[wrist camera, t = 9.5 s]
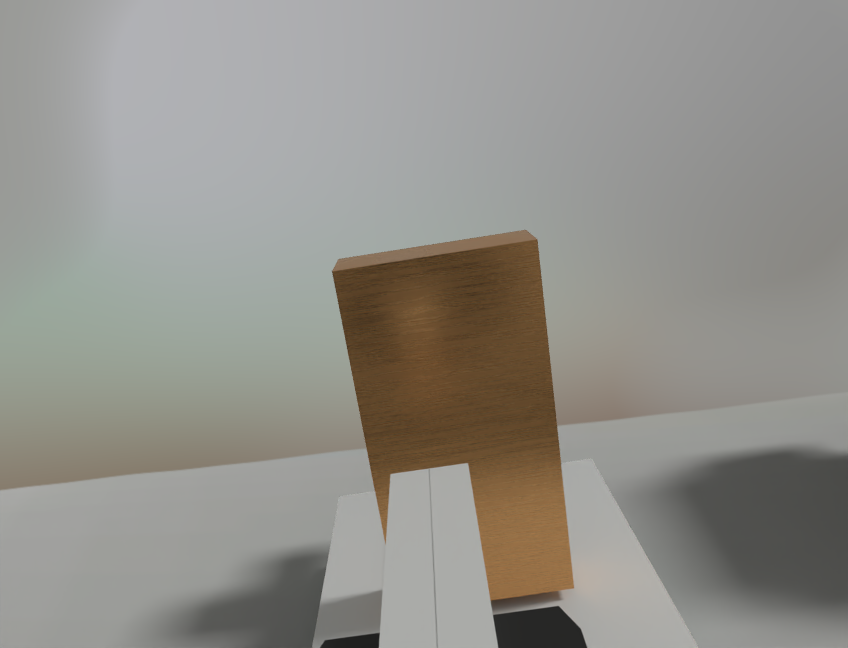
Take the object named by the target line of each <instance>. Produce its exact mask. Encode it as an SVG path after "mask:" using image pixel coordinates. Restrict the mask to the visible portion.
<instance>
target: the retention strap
mask: <svg viewBox="0 0 848 648" xmlns="http://www.w3.org/2000/svg"><path fill="white" fill-rule="evenodd" d="M332 273H333V278H334V283H335V288H336V293H337V298H338V304H339V309H340V314H341V319H342V324H343V329H344V334H345V340H346V344H347V349H348V355H349V360H350V365H351V370H352V376H353V380H354V386H355V391H356V396H357V401H358V406H359V411H360V416H361V421H362V427H363V432H364V437H365V442H366V447H367V452H368V458H369V463H370V468H371V473H372V478H373V483H374V488H375V493H376V499H377V504H378V509H379V514H380V519H381V524H382V529H383V535H384V540H385V545H386V533H387V518H388V503H389V488H390V474H394V473H401V472H408V471H415V470H422V469H429V468H436V467H443V466H450V465H457V464H464V463H468V466H469V472H470V479H471V485H472V491H473V497H474V503H475V509H476V515H477V521H478V527H479V533H480V540H481V546H482V552H483V558H484V564H485V570H486V576H487V582H488V588H489V595H490V601H491V600H498V599H505V598H512V597H519V596H526V595H532V594H539V593H546V592H553V591H560V590H566V589H573V588H574V582H573V572H572V563H571V553H570V544H569V535H568V525H567V516H566V506H565V497H564V487H563V478H562V468H561V459H560V449H559V440H558V430H557V422H556V411H555V402H554V393H553V385H552V384H553V383H552V374H551V364H550V355H549V347H548V346H549V345H548V336H547V326H546V317H545V308H544V298H543V288H542V279H541V270H540V260H539V251H538V241H537V239H536V238H535V237H534V236H533V235H531V234H530V233H529V232H528V231H527V230H522V231H515V232H510V233H503V234H496V235H490V236H483V237H477V238H470V239H464V240H458V241H452V242H445V243H439V244H432V245H426V246H419V247H413V248H407V249H400V250H394V251H388V252H381V253H375V254H368V255H362V256H356V257H349V258H342V259H339V260H338V261H337V263H336V265H335V267H334V269H333V271H332Z"/></svg>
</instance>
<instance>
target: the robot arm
mask: <svg viewBox="0 0 848 648" xmlns="http://www.w3.org/2000/svg"><path fill="white" fill-rule="evenodd" d="M320 648H587V645H586V642H585V639H584V636H583V633H582V630H581V628H580V627H579V626H578V625H577V624H576V623H575V622H574V621H573V620H572V619H571V618H570V617H569V616H568V615H567V614H566V613H565V612H564V611H563V610H562V609H561V608H560V607H559V606H554V607H546V608H539V609H532V610H524V611H517V612H510V613H502V614H495V615H493V613H492V607H491V601H490V595H489V588H488V582H487V576H486V570H485V564H484V558H483V552H482V546H481V540H480V533H479V527H478V521H477V515H476V509H475V503H474V497H473V491H472V485H471V479H470V472H469V466H468V463H464V464H457V465H450V466H443V467H436V468H429V469H422V470H415V471H408V472H401V473H394V474H390V488H389V503H388V518H387V533H386V548H385V563H384V578H383V593H382V608H381V623H380V633H373V634H366V635H359V636H352V637H344V638H337V639H330V640H325V641H324V642H323V644H322V645H321V647H320Z"/></svg>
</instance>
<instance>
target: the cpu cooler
mask: <svg viewBox="0 0 848 648" xmlns="http://www.w3.org/2000/svg"><path fill="white" fill-rule="evenodd" d="M561 468H562V478H563V487H564V497H565V506H566V516H567V525H568V535H569V544H570V553H571V563H572V572H573V582H574V588H573V589H566V590H560V591H553V592H546V593H539V594H532V595H526V596H519V597H512V598H505V599H498V600H491V607H492V613H493V615H495V614H502V613H510V612H517V611H524V610H532V609H539V608H546V607H554V606H559V607H560V608H561V609H562V610H563V611H564V612H565V613H566V614H567V615H568V616H569V617H570V618H571V619H572V620H573V621H574V622H575V623H576V624H577V625H578V626H579V627H580V628H581V630H582V633H583V636H584V639H585V642H586V645H587V648H699V647H698V645H697V644H696V642H695V640H694V638H693V637H692V635H691V633H690V631H689V630H688V628H687V626H686V624H685V622H684V621H683V619H682V617H681V615H680V614H679V612H678V610H677V608H676V607H675V605H674V603H673V601H672V600H671V598H670V596H669V594H668V592H667V591H666V589H665V587H664V585H663V584H662V582H661V580H660V578H659V577H658V575H657V573H656V571H655V570H654V568H653V566H652V564H651V562H650V561H649V559H648V557H647V555H646V554H645V552H644V550H643V548H642V547H641V545H640V543H639V541H638V540H637V538H636V536H635V534H634V532H633V531H632V529H631V527H630V525H629V524H628V522H627V520H626V518H625V517H624V515H623V513H622V511H621V510H620V508H619V506H618V504H617V502H616V501H615V499H614V497H613V495H612V494H611V492H610V490H609V488H608V487H607V485H606V483H605V481H604V480H603V478H602V476H601V474H600V472H599V471H598V469H597V467H596V465H595V464H594V462H593V460H592V458H591V459H584V460H577V461H571V462H564V463H561ZM385 548H386V545H385V540H384V535H383V529H382V524H381V519H380V514H379V509H378V504H377V499H376V493H375V491H371V492H364V493H357V494H351V495H344V496H339V501H338V507H337V512H336V518H335V523H334V529H333V534H332V540H331V545H330V551H329V556H328V562H327V567H326V573H325V578H324V584H323V589H322V595H321V600H320V606H319V611H318V617H317V622H316V628H315V633H314V639H313V644H312V648H320V647H321V645H322V644H323V642H324V641H325V640H330V639H337V638H344V637H352V636H359V635H366V634H373V633H380V623H381V608H382V593H383V578H384V563H385Z"/></svg>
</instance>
